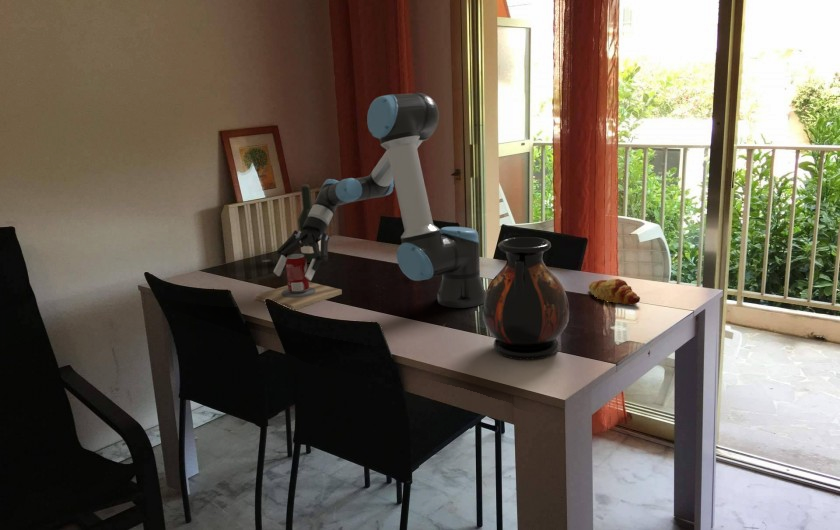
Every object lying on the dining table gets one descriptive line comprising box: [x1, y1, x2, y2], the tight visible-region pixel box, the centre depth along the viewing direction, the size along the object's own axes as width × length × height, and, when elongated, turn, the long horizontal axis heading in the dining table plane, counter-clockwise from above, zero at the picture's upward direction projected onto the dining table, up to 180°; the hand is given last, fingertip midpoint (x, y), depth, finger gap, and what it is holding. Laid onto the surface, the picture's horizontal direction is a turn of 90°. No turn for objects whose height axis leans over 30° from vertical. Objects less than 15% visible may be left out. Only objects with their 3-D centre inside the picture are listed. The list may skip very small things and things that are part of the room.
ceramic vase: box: [481, 236, 570, 361], centre depth 182 cm, size 22×22×28 cm
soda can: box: [285, 253, 310, 293], centre depth 239 cm, size 7×7×12 cm
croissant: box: [588, 278, 641, 306], centre depth 220 cm, size 21×10×8 cm, turn 29°
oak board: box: [255, 281, 343, 310], centre depth 240 cm, size 20×20×2 cm
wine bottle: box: [297, 184, 321, 265], centre depth 282 cm, size 8×8×30 cm
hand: (291, 276), depth 236 cm, fingers open, 13 cm apart
